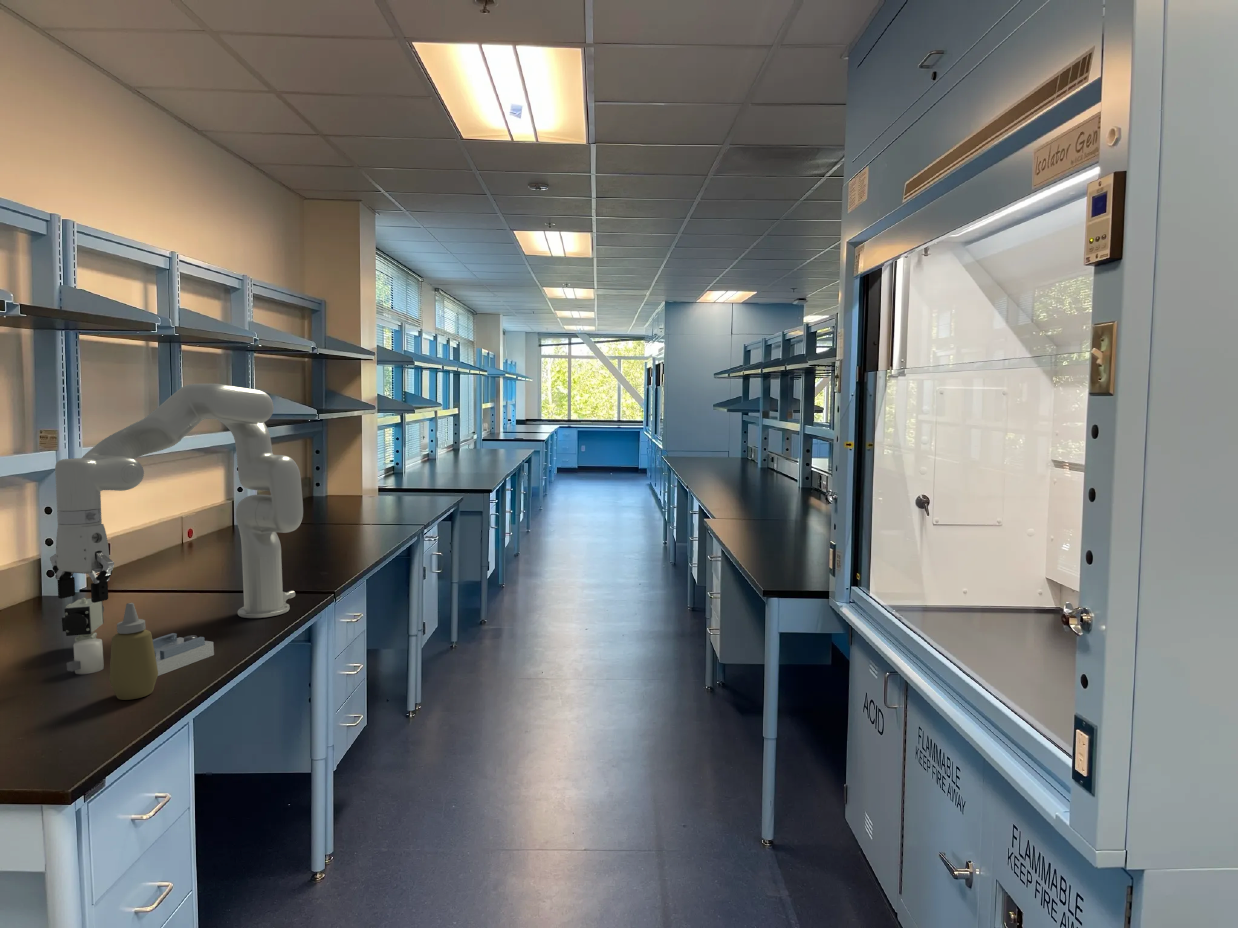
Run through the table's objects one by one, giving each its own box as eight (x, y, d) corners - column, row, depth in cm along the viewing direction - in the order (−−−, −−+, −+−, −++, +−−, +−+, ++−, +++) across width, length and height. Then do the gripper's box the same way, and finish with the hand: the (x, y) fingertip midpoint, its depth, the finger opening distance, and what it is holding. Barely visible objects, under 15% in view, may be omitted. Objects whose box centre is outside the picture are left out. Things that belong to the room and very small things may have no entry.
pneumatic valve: (106, 640, 183) (103, 591, 182) (89, 656, 172) (86, 603, 170) (79, 643, 181) (76, 592, 180) (60, 659, 170) (57, 605, 169)
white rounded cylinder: (92, 664, 166) (91, 637, 166) (109, 667, 165) (107, 639, 164) (61, 675, 160) (59, 646, 160) (78, 677, 158) (76, 649, 158)
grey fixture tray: (180, 650, 176) (179, 630, 175) (213, 654, 172) (212, 634, 172) (122, 670, 163) (121, 649, 162) (157, 676, 159) (156, 654, 159)
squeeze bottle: (167, 686, 153) (163, 597, 152) (144, 702, 145) (139, 608, 144) (126, 687, 153) (121, 598, 152) (100, 703, 145) (94, 609, 143)
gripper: (126, 517, 161) (130, 598, 162) (68, 513, 167) (72, 591, 168) (91, 522, 154) (95, 607, 155) (32, 518, 160) (36, 599, 161)
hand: (83, 599), depth 161 cm, fingers open, 9 cm apart
